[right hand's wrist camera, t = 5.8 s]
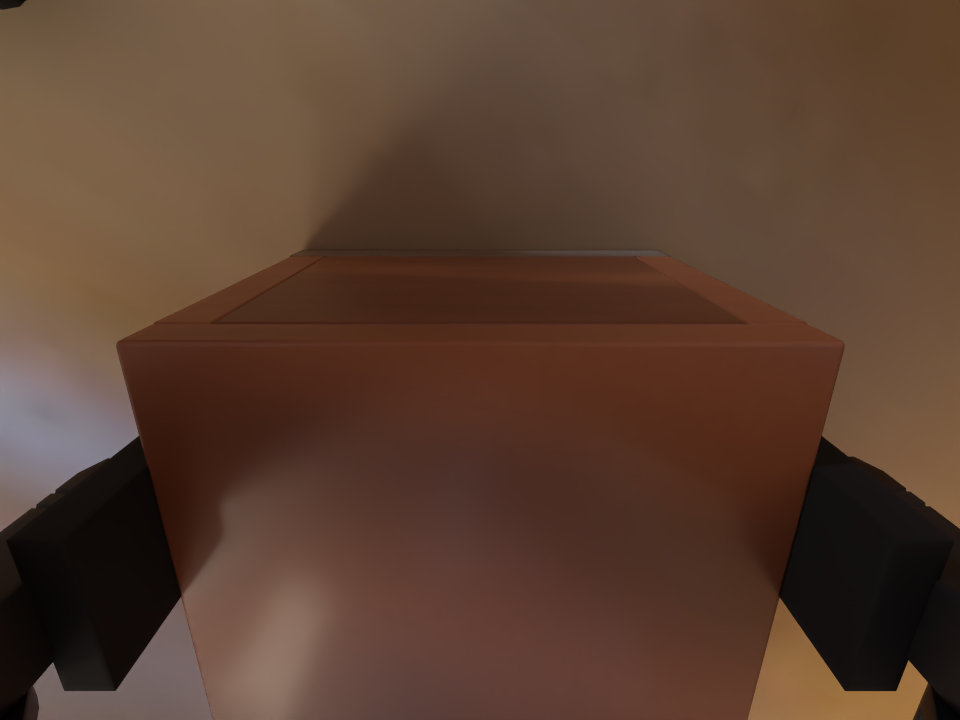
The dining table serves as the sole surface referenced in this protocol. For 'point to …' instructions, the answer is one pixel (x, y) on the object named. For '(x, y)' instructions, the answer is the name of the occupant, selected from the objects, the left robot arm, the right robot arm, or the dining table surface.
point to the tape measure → (10, 3)
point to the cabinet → (480, 483)
